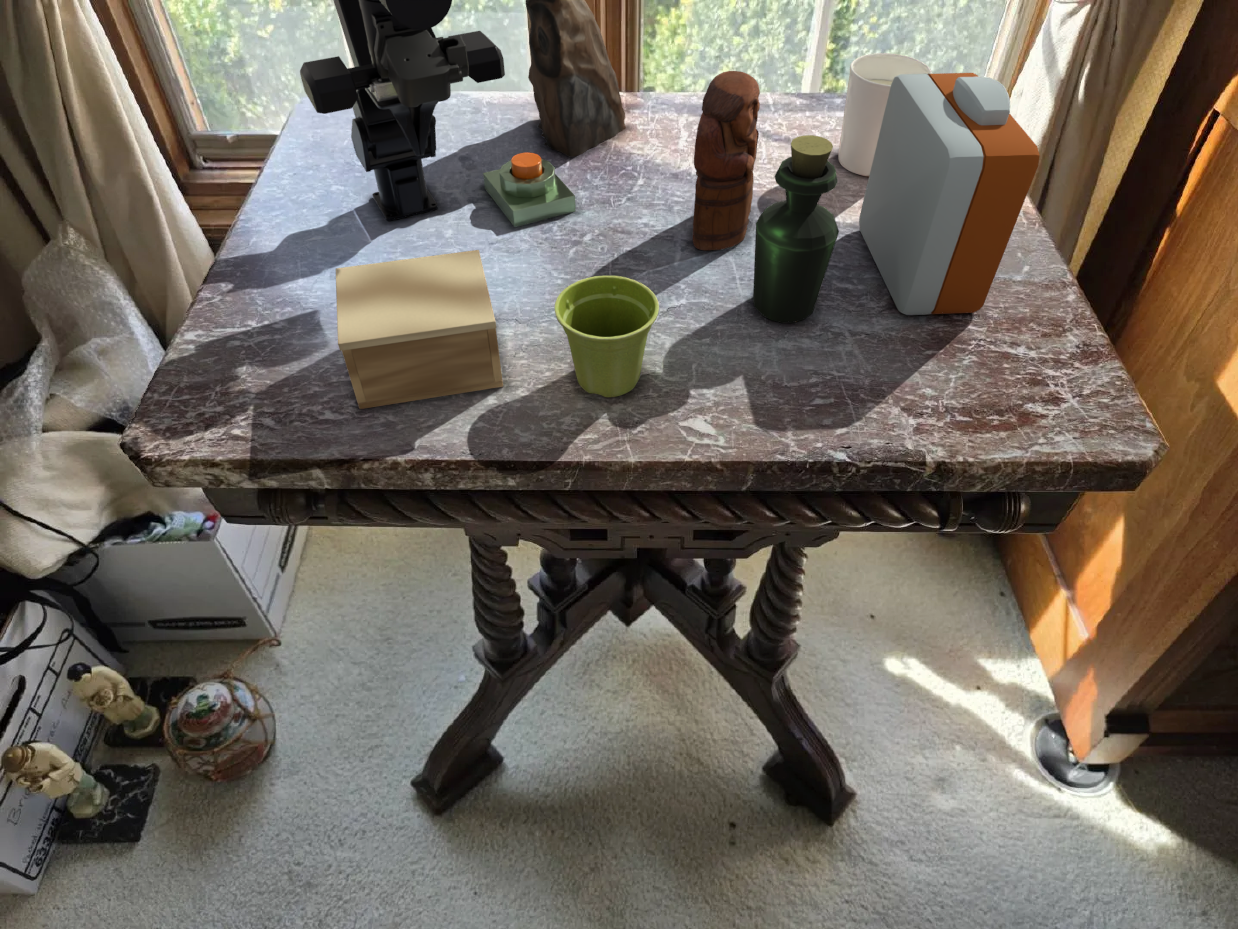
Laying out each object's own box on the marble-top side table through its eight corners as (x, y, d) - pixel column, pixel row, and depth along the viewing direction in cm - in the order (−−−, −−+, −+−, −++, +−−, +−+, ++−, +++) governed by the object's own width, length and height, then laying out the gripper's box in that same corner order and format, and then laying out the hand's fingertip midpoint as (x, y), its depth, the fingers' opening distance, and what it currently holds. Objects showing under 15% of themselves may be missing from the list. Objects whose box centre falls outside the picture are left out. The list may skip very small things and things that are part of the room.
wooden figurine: (738, 259, 97) (757, 102, 83) (683, 250, 98) (694, 94, 85) (756, 206, 104) (776, 55, 91) (705, 199, 105) (718, 48, 92)
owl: (570, 163, 111) (564, -1, 97) (501, 135, 117) (485, -25, 102) (630, 128, 118) (632, -30, 103) (562, 103, 123) (554, -52, 109)
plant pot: (585, 423, 78) (582, 350, 72) (543, 364, 84) (538, 291, 78) (673, 391, 81) (678, 319, 75) (627, 336, 87) (628, 264, 81)
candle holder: (917, 156, 113) (943, 63, 104) (891, 187, 107) (916, 93, 99) (848, 137, 117) (867, 46, 108) (820, 167, 111) (837, 73, 102)
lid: (496, 328, 75) (495, 321, 75) (339, 351, 73) (337, 343, 73) (479, 256, 83) (478, 249, 82) (337, 275, 81) (335, 268, 80)
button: (507, 169, 103) (506, 156, 102) (535, 163, 104) (534, 149, 103) (519, 183, 101) (517, 169, 100) (546, 176, 102) (546, 162, 101)
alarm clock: (981, 318, 89) (1056, 129, 74) (899, 321, 89) (958, 132, 74) (926, 223, 102) (981, 45, 87) (854, 225, 101) (897, 47, 86)
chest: (503, 386, 82) (495, 322, 76) (359, 409, 80) (339, 344, 74) (488, 320, 89) (479, 256, 83) (355, 339, 87) (337, 275, 81)
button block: (484, 189, 107) (481, 159, 104) (543, 174, 109) (541, 145, 106) (514, 227, 101) (511, 197, 98) (575, 211, 103) (574, 181, 100)
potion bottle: (805, 278, 94) (836, 120, 81) (833, 323, 89) (871, 161, 75) (735, 288, 93) (755, 128, 80) (759, 333, 87) (785, 171, 74)
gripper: (306, 40, 69) (350, 212, 81) (519, 3, 75) (531, 168, 86) (278, -4, 76) (322, 160, 87) (475, -35, 82) (492, 123, 93)
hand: (419, 153), depth 88 cm, fingers closed
